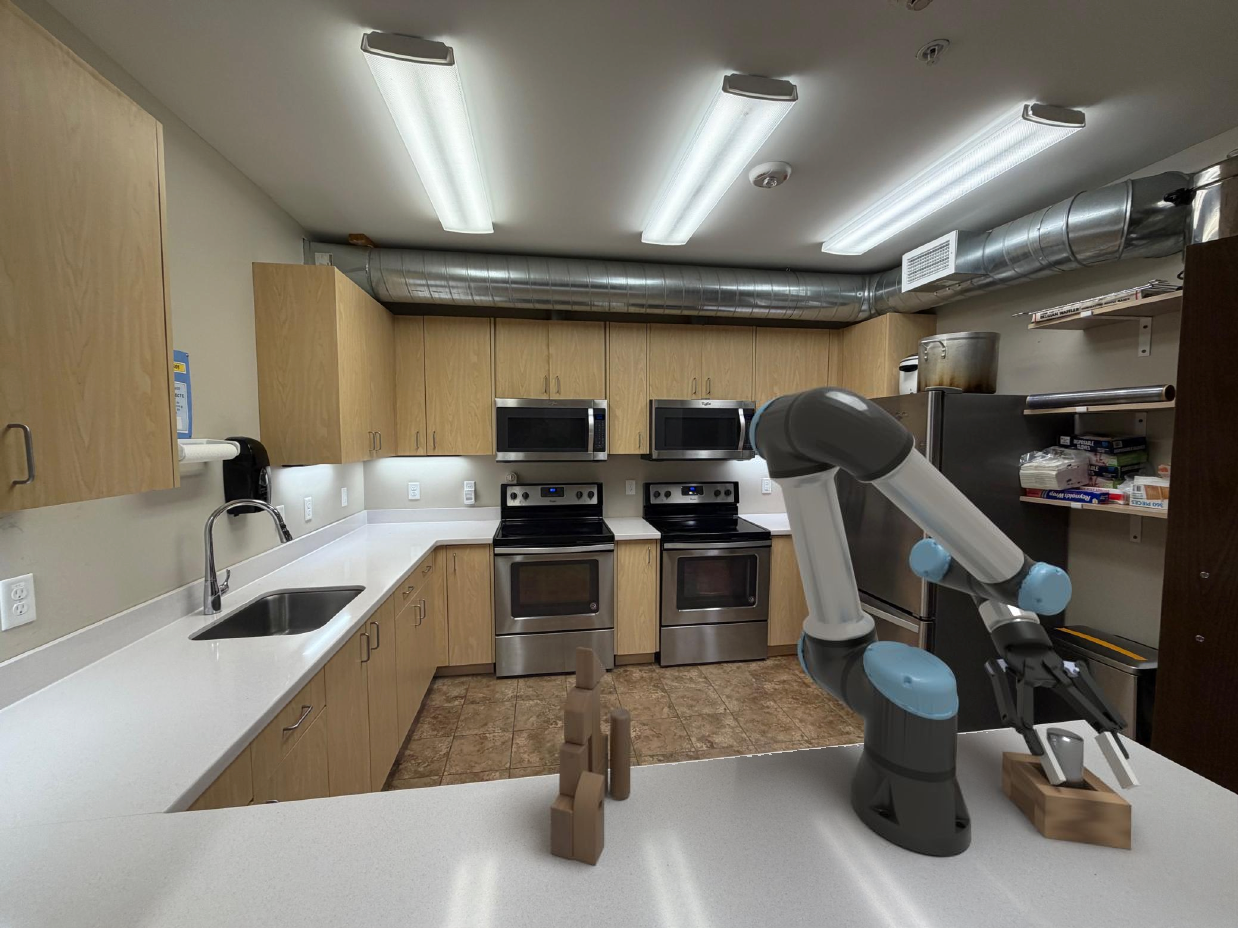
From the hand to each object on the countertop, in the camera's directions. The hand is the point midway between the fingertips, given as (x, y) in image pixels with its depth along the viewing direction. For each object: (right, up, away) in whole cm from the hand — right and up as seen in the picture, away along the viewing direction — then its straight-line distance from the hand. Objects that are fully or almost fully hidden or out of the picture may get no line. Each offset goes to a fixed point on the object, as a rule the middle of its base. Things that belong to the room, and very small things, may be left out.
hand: (1094, 784), depth 66 cm
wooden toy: (-70, -7, +3) cm, 70 cm away
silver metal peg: (-1, -7, +4) cm, 8 cm away
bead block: (-1, -7, +4) cm, 8 cm away
